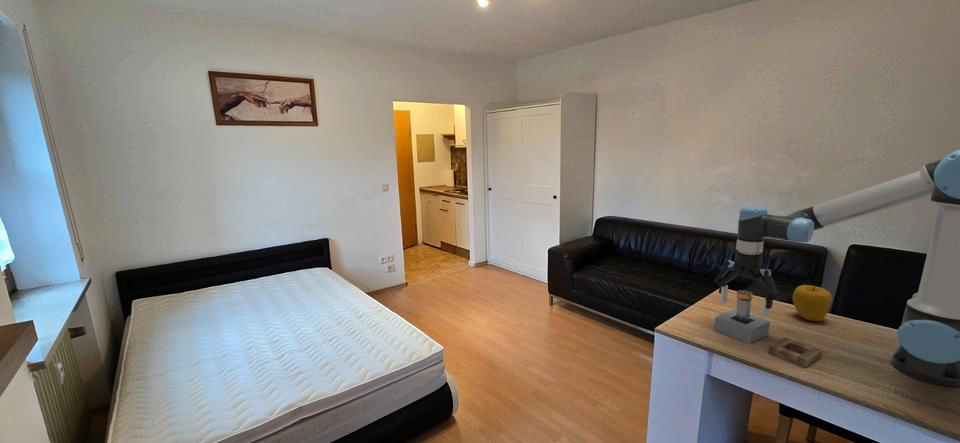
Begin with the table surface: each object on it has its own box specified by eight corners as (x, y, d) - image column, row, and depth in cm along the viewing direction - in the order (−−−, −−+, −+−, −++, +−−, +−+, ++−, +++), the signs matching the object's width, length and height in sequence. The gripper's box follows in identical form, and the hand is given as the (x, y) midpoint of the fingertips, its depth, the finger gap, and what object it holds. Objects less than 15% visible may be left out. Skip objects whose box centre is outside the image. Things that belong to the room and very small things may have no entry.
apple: (783, 314, 149) (787, 283, 147) (804, 310, 152) (808, 279, 149) (814, 327, 139) (819, 293, 136) (836, 322, 142) (841, 289, 139)
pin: (751, 333, 137) (755, 293, 134) (744, 336, 135) (748, 296, 132) (738, 328, 141) (741, 289, 138) (731, 331, 139) (734, 292, 136)
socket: (768, 334, 135) (770, 321, 134) (749, 344, 130) (751, 330, 129) (732, 321, 146) (734, 309, 145) (714, 329, 140) (715, 317, 139)
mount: (821, 357, 120) (822, 350, 120) (805, 367, 116) (806, 360, 115) (783, 344, 129) (784, 337, 128) (768, 352, 124) (769, 345, 124)
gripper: (797, 258, 123) (789, 319, 127) (718, 242, 144) (713, 295, 149) (785, 262, 119) (778, 325, 124) (706, 245, 141) (702, 300, 145)
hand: (743, 309), depth 136 cm, fingers open, 13 cm apart
